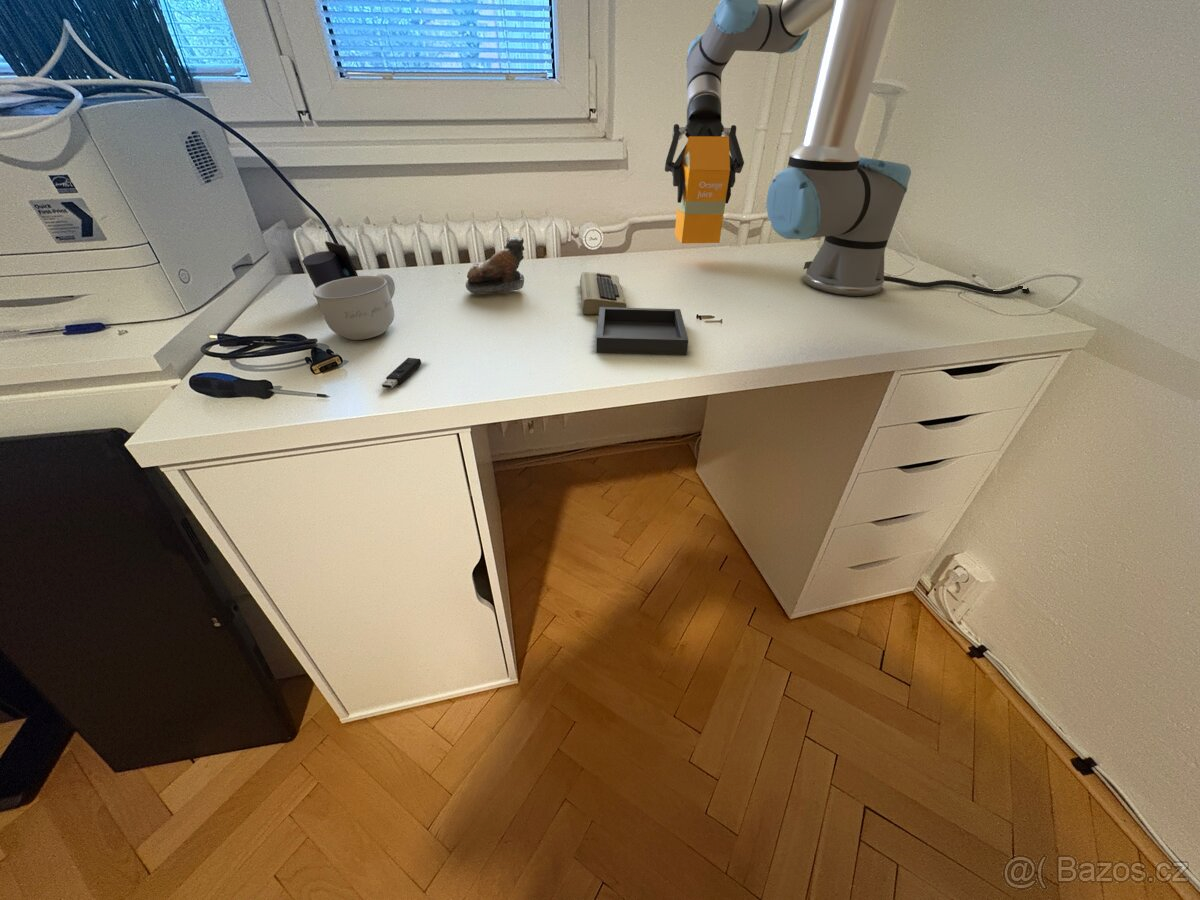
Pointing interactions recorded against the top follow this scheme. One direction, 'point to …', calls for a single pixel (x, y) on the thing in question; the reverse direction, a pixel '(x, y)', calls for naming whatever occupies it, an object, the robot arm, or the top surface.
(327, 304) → the teacup
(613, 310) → the dark gray rectangular tray
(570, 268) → the top surface
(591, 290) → the computer
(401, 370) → the usb flash drive
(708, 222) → the orange juice
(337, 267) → the speaker
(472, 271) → the bison figurine
